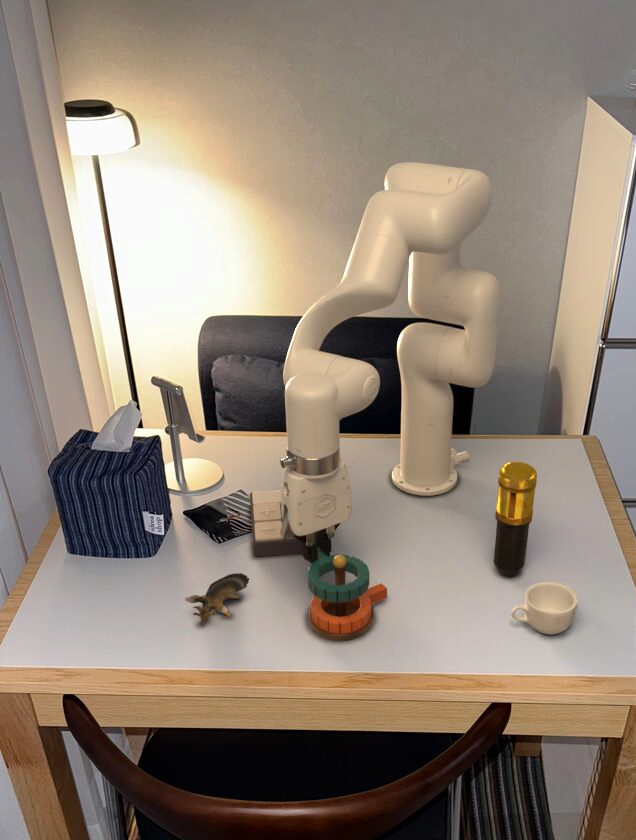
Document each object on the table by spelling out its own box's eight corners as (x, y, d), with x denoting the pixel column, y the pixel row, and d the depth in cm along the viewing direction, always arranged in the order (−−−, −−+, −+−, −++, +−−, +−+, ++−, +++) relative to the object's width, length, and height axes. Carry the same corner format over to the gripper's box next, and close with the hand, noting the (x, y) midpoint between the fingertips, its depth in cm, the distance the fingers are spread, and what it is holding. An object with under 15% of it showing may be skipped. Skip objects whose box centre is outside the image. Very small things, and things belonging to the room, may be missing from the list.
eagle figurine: (231, 631, 137) (260, 588, 143) (202, 598, 134) (232, 556, 140) (201, 636, 142) (230, 595, 148) (172, 604, 140) (203, 564, 145)
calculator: (252, 540, 152) (249, 488, 165) (254, 560, 155) (250, 507, 167) (317, 535, 154) (309, 484, 166) (318, 554, 156) (310, 503, 168)
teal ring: (380, 588, 136) (380, 578, 135) (328, 610, 132) (327, 599, 131) (336, 546, 145) (336, 536, 144) (286, 566, 141) (285, 555, 140)
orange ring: (331, 641, 135) (330, 631, 134) (300, 607, 141) (300, 598, 140) (400, 611, 141) (400, 601, 140) (368, 580, 147) (368, 570, 146)
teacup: (562, 605, 143) (566, 578, 141) (581, 637, 137) (586, 610, 134) (501, 613, 142) (504, 586, 139) (518, 646, 135) (521, 619, 133)
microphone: (571, 570, 151) (586, 467, 140) (499, 586, 148) (509, 482, 137) (554, 550, 156) (568, 449, 145) (484, 565, 152) (493, 463, 142)
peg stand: (351, 590, 147) (350, 529, 140) (385, 625, 140) (386, 562, 133) (297, 613, 142) (293, 550, 136) (330, 650, 135) (328, 585, 129)
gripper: (278, 484, 125) (284, 589, 135) (373, 453, 133) (372, 554, 142) (253, 461, 131) (261, 563, 141) (346, 432, 138) (347, 531, 148)
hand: (317, 558), depth 141 cm, fingers closed on teal ring, 1 cm apart
